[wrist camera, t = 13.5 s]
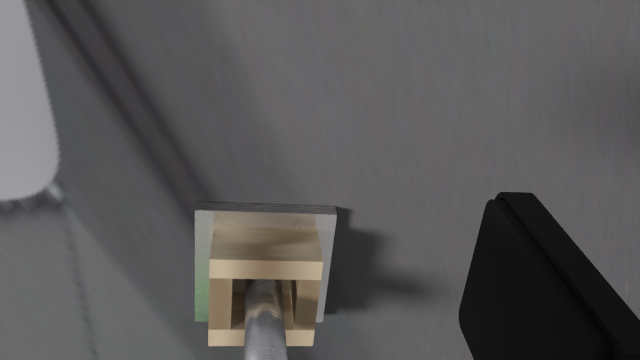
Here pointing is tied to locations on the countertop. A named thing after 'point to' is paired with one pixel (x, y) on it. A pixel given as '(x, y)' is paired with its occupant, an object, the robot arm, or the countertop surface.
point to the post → (260, 294)
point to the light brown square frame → (263, 263)
